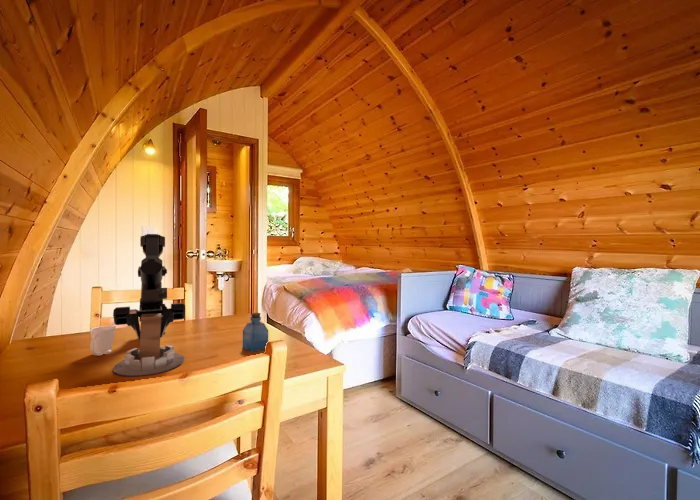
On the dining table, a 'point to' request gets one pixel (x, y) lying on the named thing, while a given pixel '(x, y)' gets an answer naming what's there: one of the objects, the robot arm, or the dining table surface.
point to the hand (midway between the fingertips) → (150, 337)
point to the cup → (102, 339)
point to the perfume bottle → (255, 334)
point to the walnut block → (150, 335)
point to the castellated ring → (148, 363)
